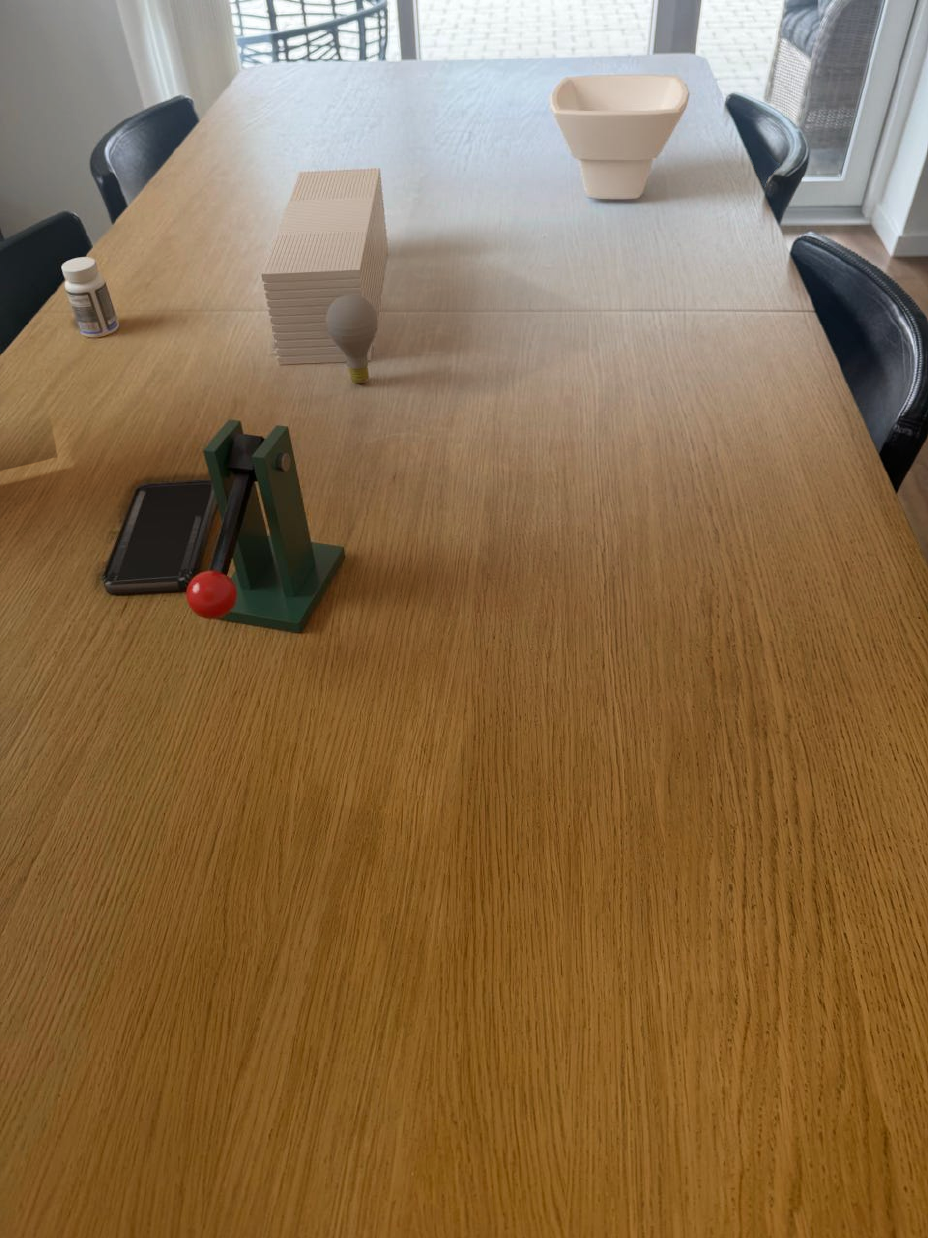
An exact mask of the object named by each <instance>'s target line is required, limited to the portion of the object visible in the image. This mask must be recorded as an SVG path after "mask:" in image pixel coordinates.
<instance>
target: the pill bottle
mask: <svg viewBox="0 0 928 1238" xmlns="http://www.w3.org/2000/svg"><path fill="white" fill-rule="evenodd" d="M61 271H62V275H63V278H64V280H65V282H64V290H65V292H66V296H67V298H68V301H69V304H70V307H71V309H72V312H73V315H74V319H75V321H76V324H77V326H78V330H79V332H80V334H81V335H82V336H84V337H87V338H91V339H92V338H93V339H95V338H102V337H106V336H109V335H111V334H113V333H115V332H116V331H117V330H118V328H119V327H120V323H119V319H118V316H117V314H116V310H115V307H114V304H113V301H112V297H111V295H110V292H109V289H108V285H107V281H106V279H105V277H104V276H103V275H102V274H101V273H100V271H99V267H98V265H97V262H96V259H94V258H93V257H88V256H81V257H75V258H72V259H69V260H66V261H65V262H63V263H62V264H61Z"/></svg>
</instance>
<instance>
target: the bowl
mask: <svg viewBox="0 0 928 1238" xmlns="http://www.w3.org/2000/svg"><path fill="white" fill-rule="evenodd" d="M690 95H691V93H690V91H689V88H688V85H687V83H686V82H685V81H684V80H683V79H682V78H681V77H680V76H679V75H672V74H670V75H669V74H656V73H655V74H653V73H652V74H599V75H598V74H592V75H591V74H589V75H578V76H576V75H575V76H566V77H565V78H563V79H562V80H561V81H559V82H558V83H557V84H556V85H555V87H554V88H553V90H552V92H551V93H550V96H549V97H550V98H549V99H550V100H549V107H550V111H551V114H552V115H553V117H554V120H555V122H556V124H557V126H558V128H559V131H560V133H561V135H562V137H563V139H564V142H565V143H566V145H567V148H568V149H569V153H570V154H571V156H572V158H573V159H577V161H578V165H579V171H580V174H581V179H582V185H583V189H584V193H585V195H586V197H587V198H588V199H595V200H633V199H635V200H636V199H639V198H640V197H641V196H642V194H643V192H644V189H645V186H646V184H647V180H648V177H649V174H650V170H651V168H652V164H653V162H654V159H657V158H658V157H659V156H660V154H661V153H662V152H663V150H664V148H665V146H666V144H667V143H668V141H669V140H670V137H671V136H672V134H673V132H674V130H675V129H676V127H677V125H678V123H679V121H680V119H681V118H682V116H683V114H684V113H685V111H686V109H687V107H688V103H689V100H690Z"/></svg>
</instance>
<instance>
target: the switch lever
mask: <svg viewBox="0 0 928 1238" xmlns="http://www.w3.org/2000/svg"><path fill="white" fill-rule="evenodd" d="M265 439H266V438H265V437H264V436H261V435H254V434H246V433H244V434H239V433H236V436H235V439H234V442H233V446H232V449H231V453H230V456H229V460H228V463H227V468H228V469H229V470H230V471H231V472H232V473H233V474H234V475H235V476H236V477H235V480H234V484H233V487H232V491H231V494H230V497H229V501H228V504H227V508H226V511H225V515H224V518H223V522H222V521H221V526H220V529H219V533H218V535H217V540H216V542H215V546H214V550H213V553H212V557H211V559H210V560H211V561H210V564H209V567H208V570H203V571H202V572H201V571H200V572H198V574H197V575H196V576H195V577H194V578H193V579H192V580H191V581H190V583H189V585H188V587H187V589H186V590H185V591H186V592H185V593H186V595H185V596H186V597H185V599H186V602H187V604H188V607H189V608H190V609H191V611H192V612H193V613H194V614H195V615H197V616H199V617H200V618H202V619H206V620H219V619H218V618H221V617H223V616H225V615H227V614H228V613H229V612H230V611H231V610H232V609H233V607H234V605H235V603H236V598H237V591H236V587H235V585H234V583H233V581H232V580H231V579H230V578H231V577H229V571H230V568H231V564H232V562H233V559H232V557H233V553H234V550H235V546H236V543H237V539H238V536H239V532H240V529H241V525H242V522H243V518H244V515H245V511H246V508H247V504H248V500H249V497H250V493H251V490H252V486H253V483H254V481H255V483H258V481H257V477H256V473H255V468H254V464H253V460H252V455H253V454H254V453H255V452H256V450H257V449H258V448H259V447H260V445H261V444H262V443H263V441H264V440H265Z"/></svg>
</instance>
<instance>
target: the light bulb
mask: <svg viewBox="0 0 928 1238" xmlns="http://www.w3.org/2000/svg"><path fill="white" fill-rule="evenodd" d="M326 325H327V330H328V332H329V335H330V336H331V338H332V339H333V341H334V342H335V343H336V344H337V345H338V346H339V348H340V349H341V350H342V351H343V353H344V354H345V356H346V358H347V362H346V364H347V367H348V371H349V372H348V373H349V379H350V381H352V382H353V383H355V384H358V385H362V384H363V383H366V382H368V380H369V378H370V374H369V368H368V367H369V366H368V365H369V361H368V358H367V354H368V350H369V348H370V345H371V343H372V341H373V339H374V337H375V338H376V334H377V332H378V327H379V320H378V319H377V313H376V311H375V309H374V307H373V306H372V304H371V303H370V302H369V301H368V300H367V299H365V298H364V297H362V296H359V295H354V294H349V295H344V296H341V297H339V298H337V299H336V300H335V301H334V302H333V303H332V304H331V305H330V307H329V309H328V312H327V316H326Z"/></svg>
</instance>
